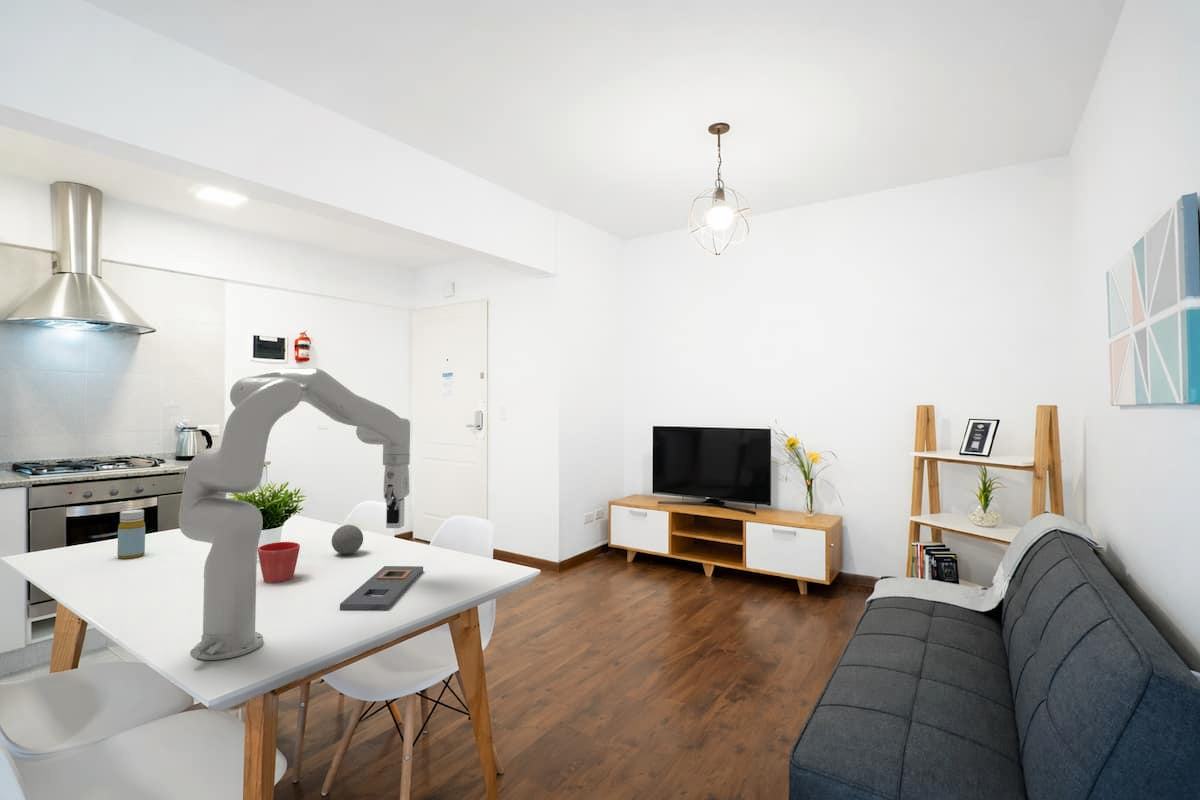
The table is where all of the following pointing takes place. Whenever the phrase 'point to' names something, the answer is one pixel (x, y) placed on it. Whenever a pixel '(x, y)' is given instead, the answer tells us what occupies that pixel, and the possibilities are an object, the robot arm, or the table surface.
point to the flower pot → (278, 560)
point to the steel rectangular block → (401, 515)
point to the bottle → (131, 534)
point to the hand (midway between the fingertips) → (395, 520)
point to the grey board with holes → (382, 588)
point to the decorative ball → (347, 539)
